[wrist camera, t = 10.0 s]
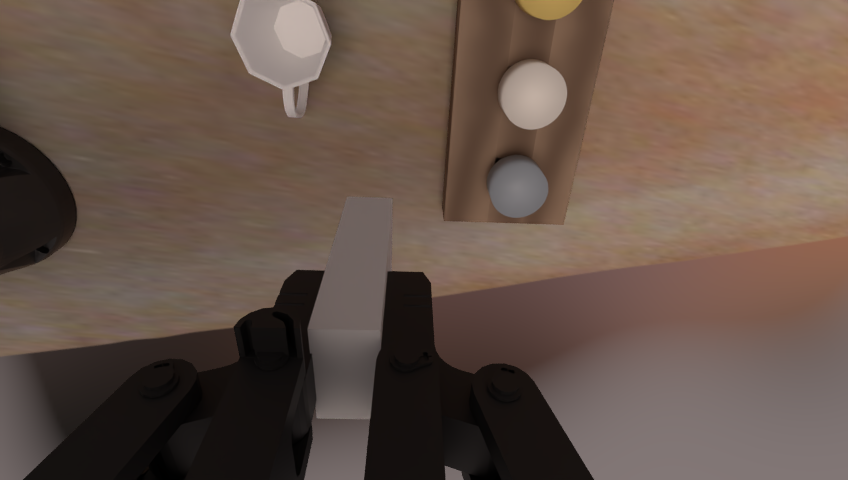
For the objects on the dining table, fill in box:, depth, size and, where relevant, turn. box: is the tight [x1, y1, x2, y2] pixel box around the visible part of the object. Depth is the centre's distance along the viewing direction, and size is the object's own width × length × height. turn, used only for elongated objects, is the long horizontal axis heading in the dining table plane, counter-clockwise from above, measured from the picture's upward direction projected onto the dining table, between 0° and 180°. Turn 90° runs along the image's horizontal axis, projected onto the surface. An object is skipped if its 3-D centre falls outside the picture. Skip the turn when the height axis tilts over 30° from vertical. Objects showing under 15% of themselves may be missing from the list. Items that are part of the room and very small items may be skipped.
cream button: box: [498, 59, 567, 130], centre depth 38 cm, size 5×5×5 cm
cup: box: [230, 0, 332, 118], centre depth 36 cm, size 7×10×8 cm
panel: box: [442, 0, 614, 225], centre depth 40 cm, size 12×26×3 cm, turn 177°
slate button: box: [487, 155, 548, 218], centre depth 42 cm, size 5×5×5 cm
